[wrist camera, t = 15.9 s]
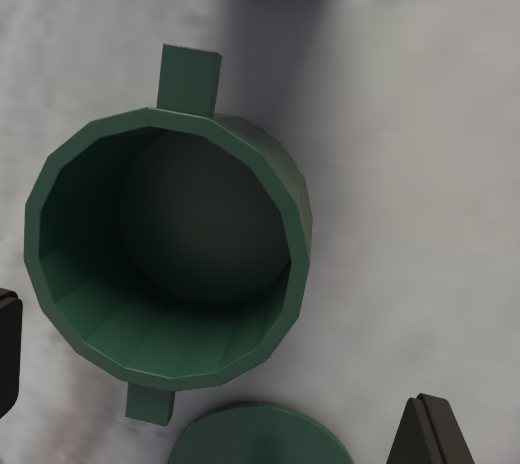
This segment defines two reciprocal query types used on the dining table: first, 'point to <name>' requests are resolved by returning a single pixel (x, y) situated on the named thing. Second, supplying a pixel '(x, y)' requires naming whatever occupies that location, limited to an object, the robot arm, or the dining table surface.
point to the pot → (170, 240)
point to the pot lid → (257, 438)
